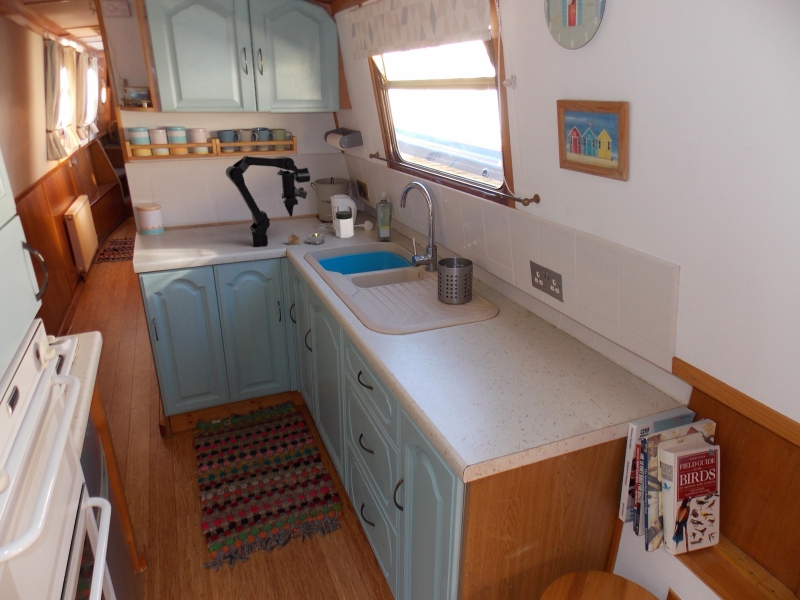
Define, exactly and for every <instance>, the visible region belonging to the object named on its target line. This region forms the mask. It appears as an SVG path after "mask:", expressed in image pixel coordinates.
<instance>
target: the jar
mask: <svg viewBox="0 0 800 600" xmlns="http://www.w3.org/2000/svg"><path fill="white" fill-rule="evenodd" d="M334 222H335V223H334V226H335V237H337V238H339V239H347V238H348V239H349V238H352V237H353V236H354V217H353V212H352V211H349V210H341V211H340V210H339V211H336V212H335V218H334Z"/></svg>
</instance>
